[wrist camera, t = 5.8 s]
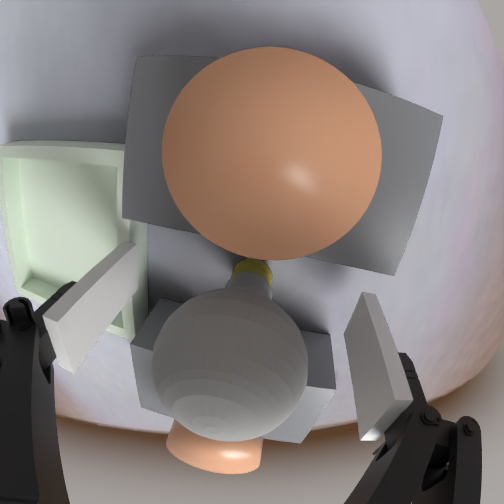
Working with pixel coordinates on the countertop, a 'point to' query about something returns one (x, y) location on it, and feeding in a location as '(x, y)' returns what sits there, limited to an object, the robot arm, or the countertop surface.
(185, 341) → the light bulb
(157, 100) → the socket housing
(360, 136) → the orange mushroom knob
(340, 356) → the countertop surface
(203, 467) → the plunger
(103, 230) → the tray
